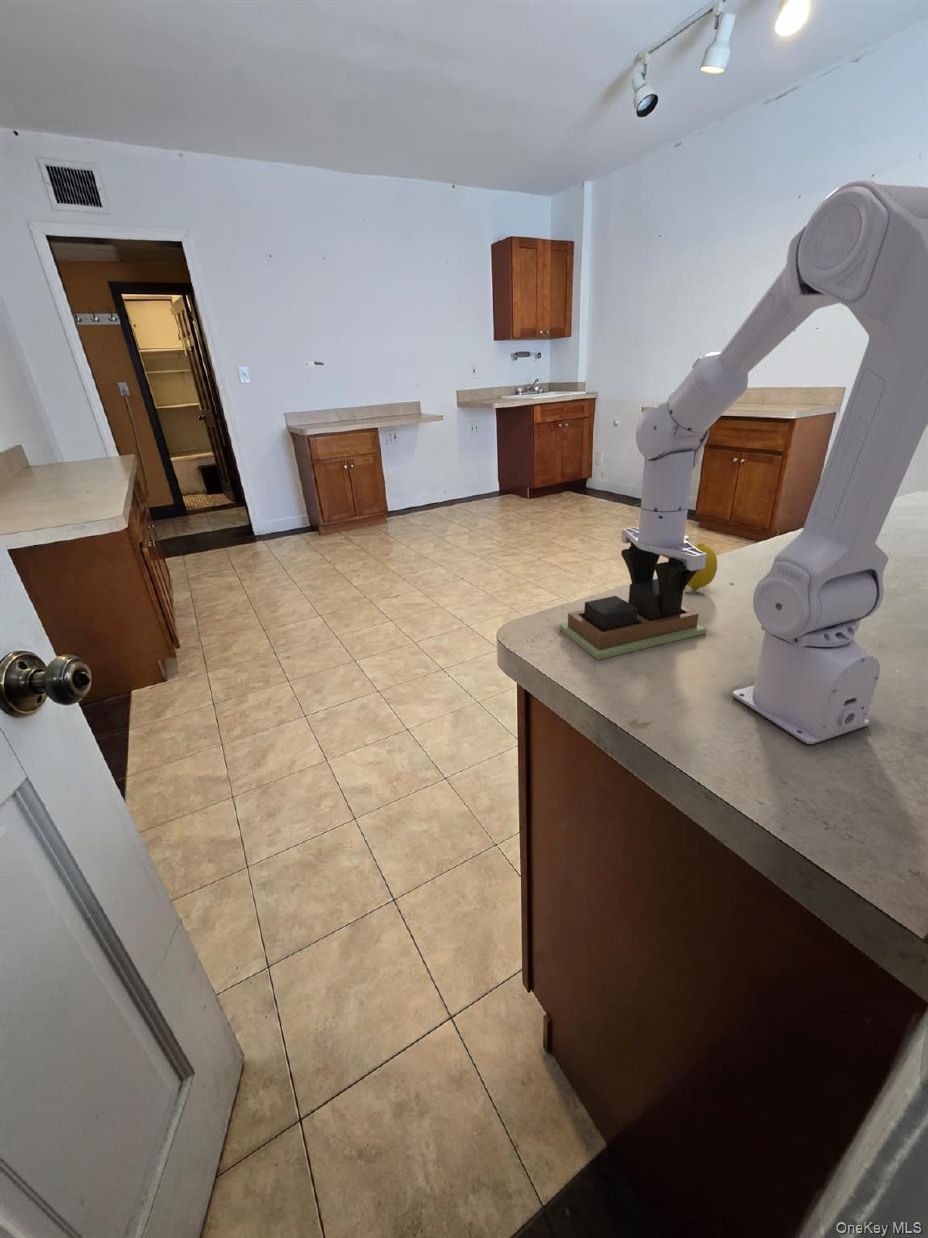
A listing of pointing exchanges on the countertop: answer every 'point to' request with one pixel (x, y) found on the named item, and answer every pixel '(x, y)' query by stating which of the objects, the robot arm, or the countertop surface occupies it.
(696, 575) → the lemon
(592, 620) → the pad
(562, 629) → the dock
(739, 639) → the countertop surface
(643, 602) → the black block
